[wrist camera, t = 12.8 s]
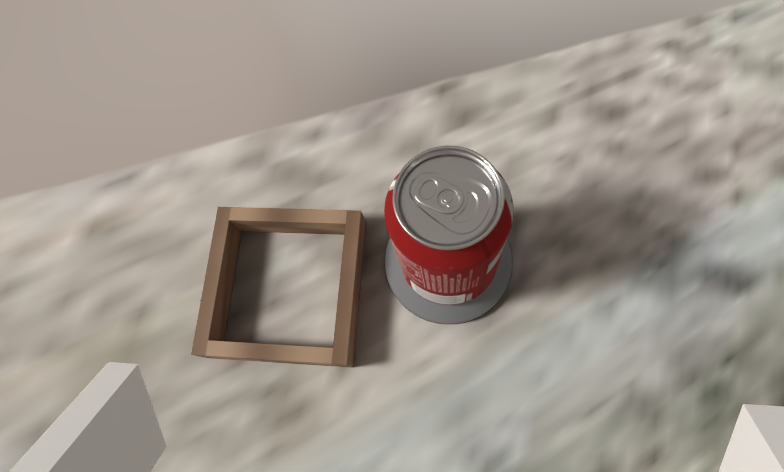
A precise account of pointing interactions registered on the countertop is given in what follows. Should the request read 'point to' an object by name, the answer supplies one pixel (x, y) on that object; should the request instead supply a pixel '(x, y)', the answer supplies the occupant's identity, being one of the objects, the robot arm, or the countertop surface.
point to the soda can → (449, 223)
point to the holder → (223, 273)
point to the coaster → (447, 312)
